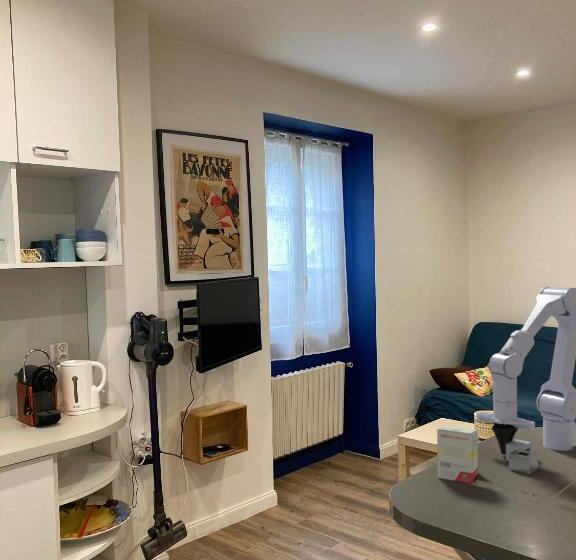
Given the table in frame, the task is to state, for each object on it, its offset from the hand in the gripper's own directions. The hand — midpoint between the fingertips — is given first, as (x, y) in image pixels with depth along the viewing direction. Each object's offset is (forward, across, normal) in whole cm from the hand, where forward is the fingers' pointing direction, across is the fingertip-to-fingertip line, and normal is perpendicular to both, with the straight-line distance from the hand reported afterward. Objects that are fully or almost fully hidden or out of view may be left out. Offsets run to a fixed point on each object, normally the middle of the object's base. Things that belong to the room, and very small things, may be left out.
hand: (505, 453), depth 156 cm
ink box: (+2, -3, -19) cm, 19 cm away
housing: (+1, +4, 0) cm, 4 cm away
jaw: (+1, +8, -6) cm, 10 cm away
